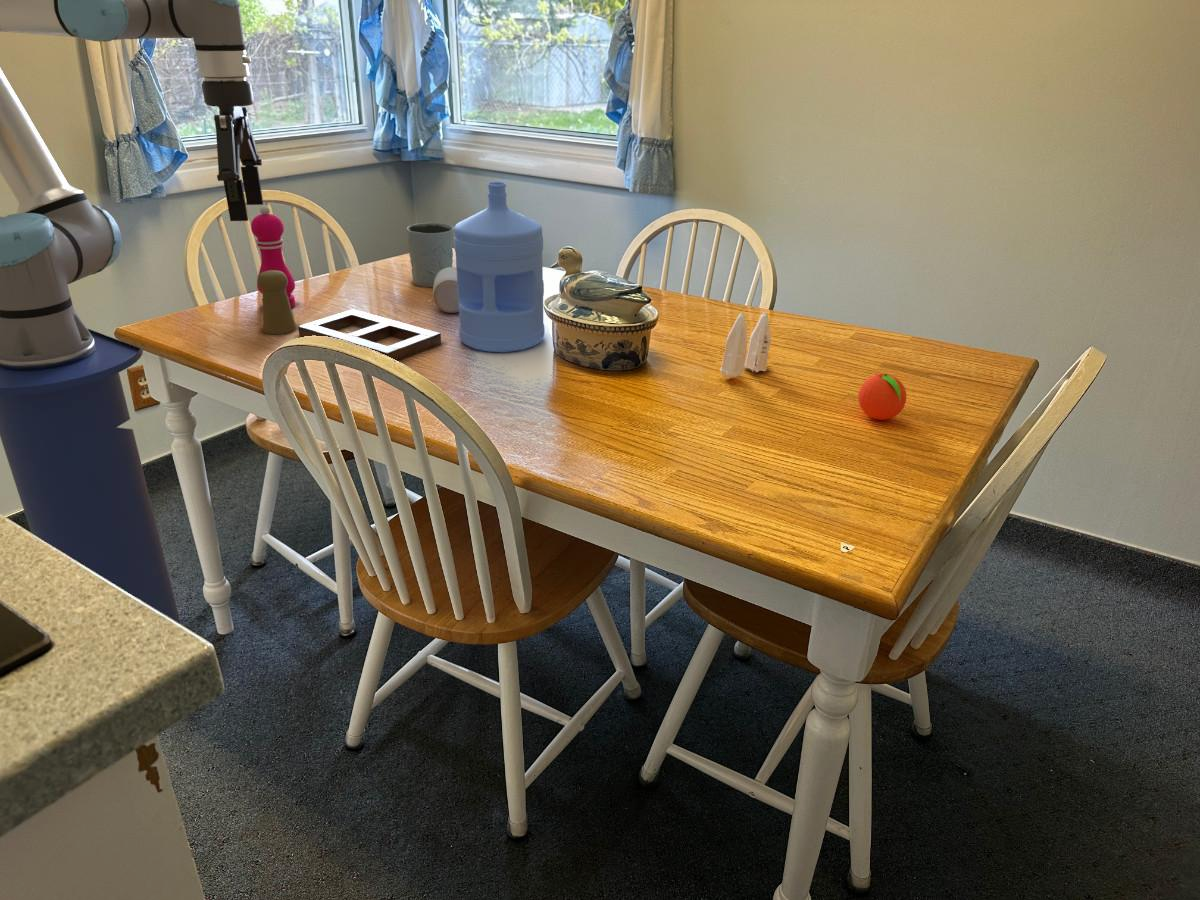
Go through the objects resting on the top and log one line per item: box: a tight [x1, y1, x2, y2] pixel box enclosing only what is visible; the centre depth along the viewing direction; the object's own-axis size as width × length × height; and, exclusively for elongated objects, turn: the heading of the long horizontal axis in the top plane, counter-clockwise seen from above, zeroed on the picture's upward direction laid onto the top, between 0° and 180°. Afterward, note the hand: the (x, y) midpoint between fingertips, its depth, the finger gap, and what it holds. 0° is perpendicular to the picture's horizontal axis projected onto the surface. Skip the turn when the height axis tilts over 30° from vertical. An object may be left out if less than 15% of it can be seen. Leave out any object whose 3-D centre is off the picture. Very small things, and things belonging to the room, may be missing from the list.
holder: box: [297, 308, 442, 361], centre depth 161 cm, size 13×24×2 cm, turn 55°
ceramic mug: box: [432, 266, 459, 314], centre depth 177 cm, size 11×8×8 cm
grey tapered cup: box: [406, 222, 455, 288], centre depth 193 cm, size 10×10×12 cm
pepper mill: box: [250, 205, 296, 309], centre depth 174 cm, size 7×7×20 cm
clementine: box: [857, 373, 907, 421], centre depth 132 cm, size 8×7×7 cm
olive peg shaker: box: [256, 270, 298, 335], centre depth 163 cm, size 6×6×11 cm
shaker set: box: [719, 311, 772, 380], centre depth 146 cm, size 12×4×11 cm, turn 134°
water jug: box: [453, 181, 546, 353], centre depth 156 cm, size 16×16×28 cm
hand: (247, 212), depth 152 cm, fingers open, 13 cm apart
